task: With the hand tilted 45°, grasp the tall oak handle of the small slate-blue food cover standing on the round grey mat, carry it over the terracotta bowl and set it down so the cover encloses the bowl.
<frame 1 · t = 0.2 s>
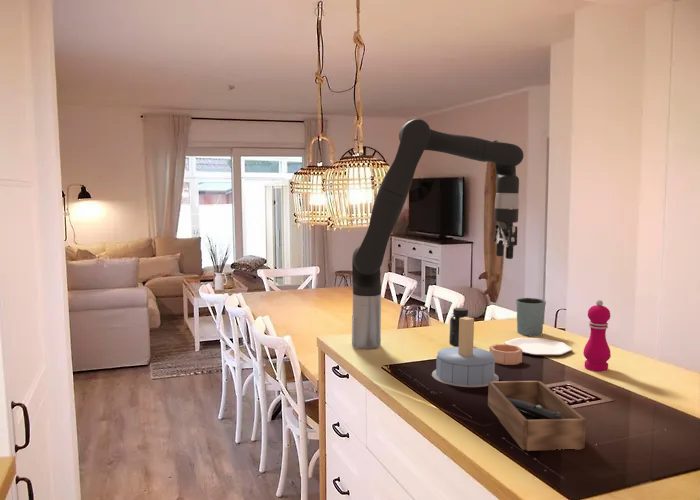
hand: (504, 257, 189), 29 cm above the worktop, tool pointing down, fingers open, 8 cm apart
pepper mill: (596, 369, 167), on the worktop
cover: (465, 375, 158), resting on mat
bowl: (505, 361, 173), on the worktop
green cup: (529, 333, 207), on the worktop
supplement bottle: (459, 345, 192), on the worktop
mat: (465, 377, 158), on the worktop
caddy: (531, 425, 126), on the worktop
plate: (537, 350, 187), on the worktop
can opener: (530, 427, 126), resting in caddy
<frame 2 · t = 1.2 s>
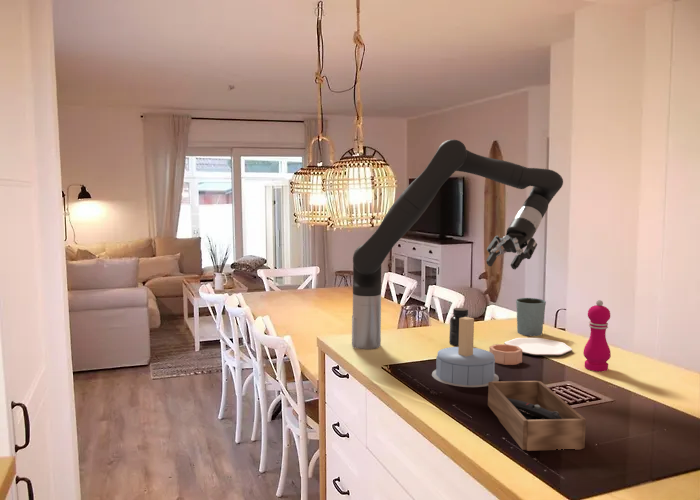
hand: (500, 266, 169), 29 cm above the worktop, tool tilted 45°, fingers open, 8 cm apart
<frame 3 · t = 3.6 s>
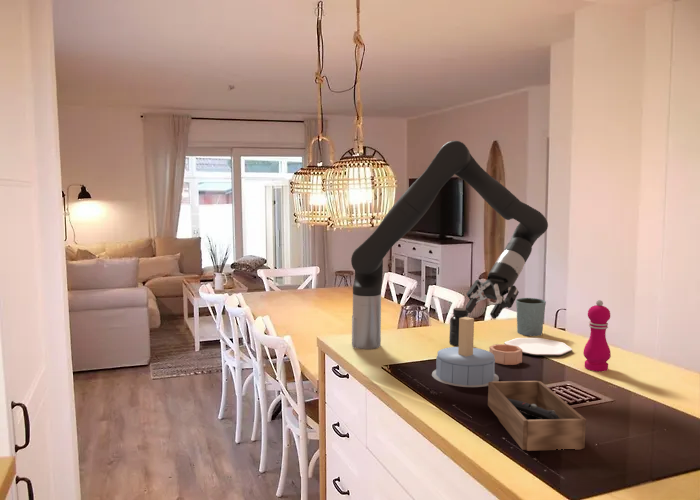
hand: (479, 314, 160), 17 cm above the worktop, tool tilted 45°, fingers open, 8 cm apart
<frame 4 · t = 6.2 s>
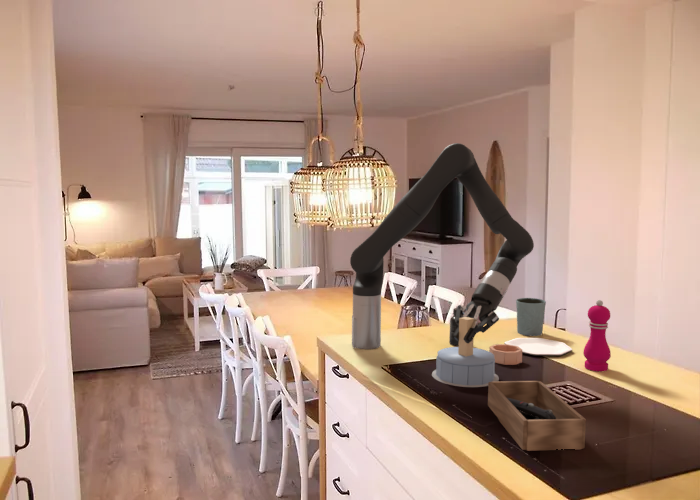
hand: (461, 339, 156), 11 cm above the worktop, tool tilted 45°, fingers closed on cover, 2 cm apart
cover: (465, 375, 158), resting on mat, touching gripper
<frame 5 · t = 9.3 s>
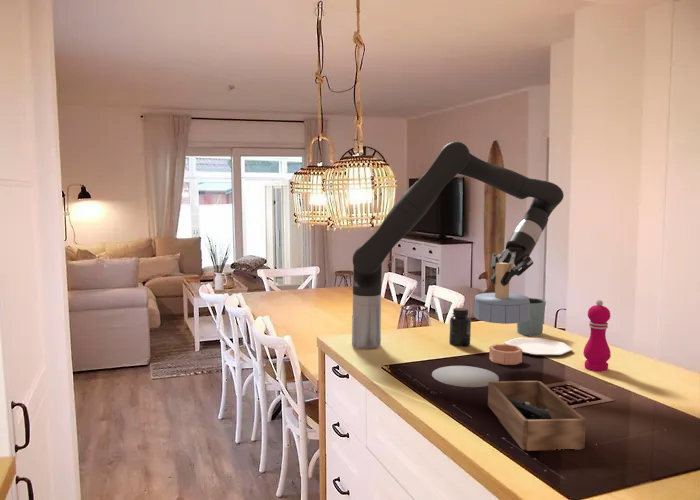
hand: (498, 283, 167), 24 cm above the worktop, tool tilted 45°, fingers closed on cover, 2 cm apart
cover: (501, 317, 169), point 14 cm above the worktop, touching gripper
when the fingers open (12 cm above the worktop, at t = 12.9 s): cover drops 1 cm, on the worktop.
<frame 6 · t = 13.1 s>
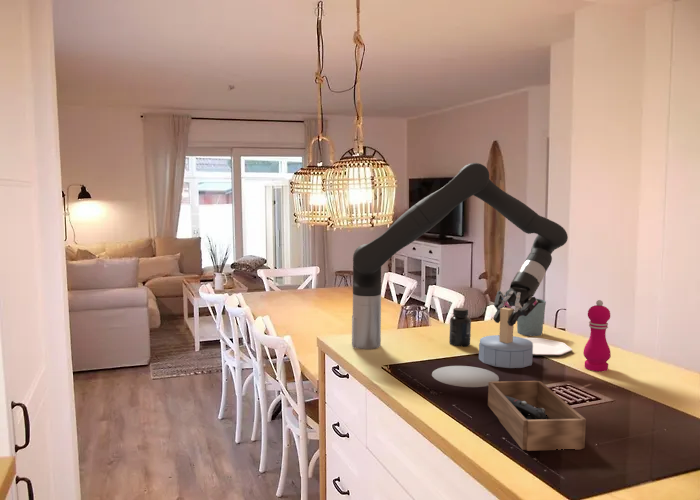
hand: (502, 322, 171), 12 cm above the worktop, tool tilted 45°, fingers open, 4 cm apart
cover: (505, 361, 173), on the worktop
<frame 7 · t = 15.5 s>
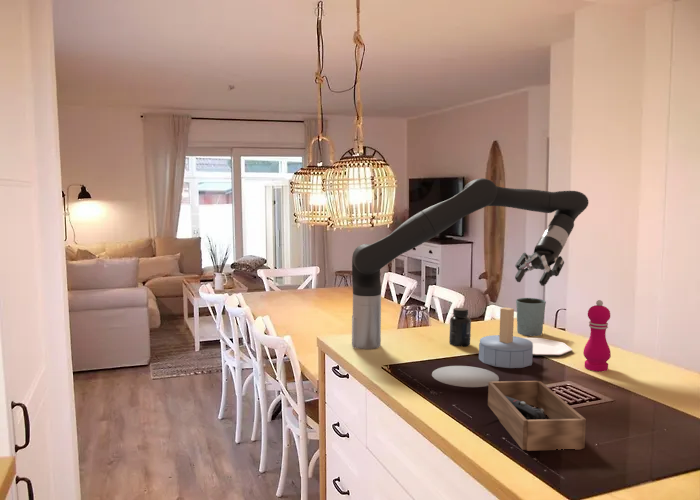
hand: (529, 282, 178), 23 cm above the worktop, tool tilted 45°, fingers open, 8 cm apart
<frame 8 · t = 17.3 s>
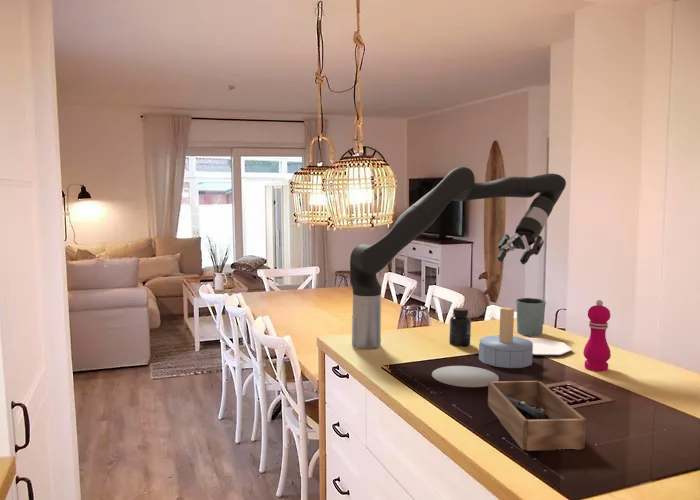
hand: (510, 261, 185), 28 cm above the worktop, tool tilted 45°, fingers open, 8 cm apart
at the end: cover 0.1 cm from the bowl (horizontally); cover tilted 0°; cover on the worktop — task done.
